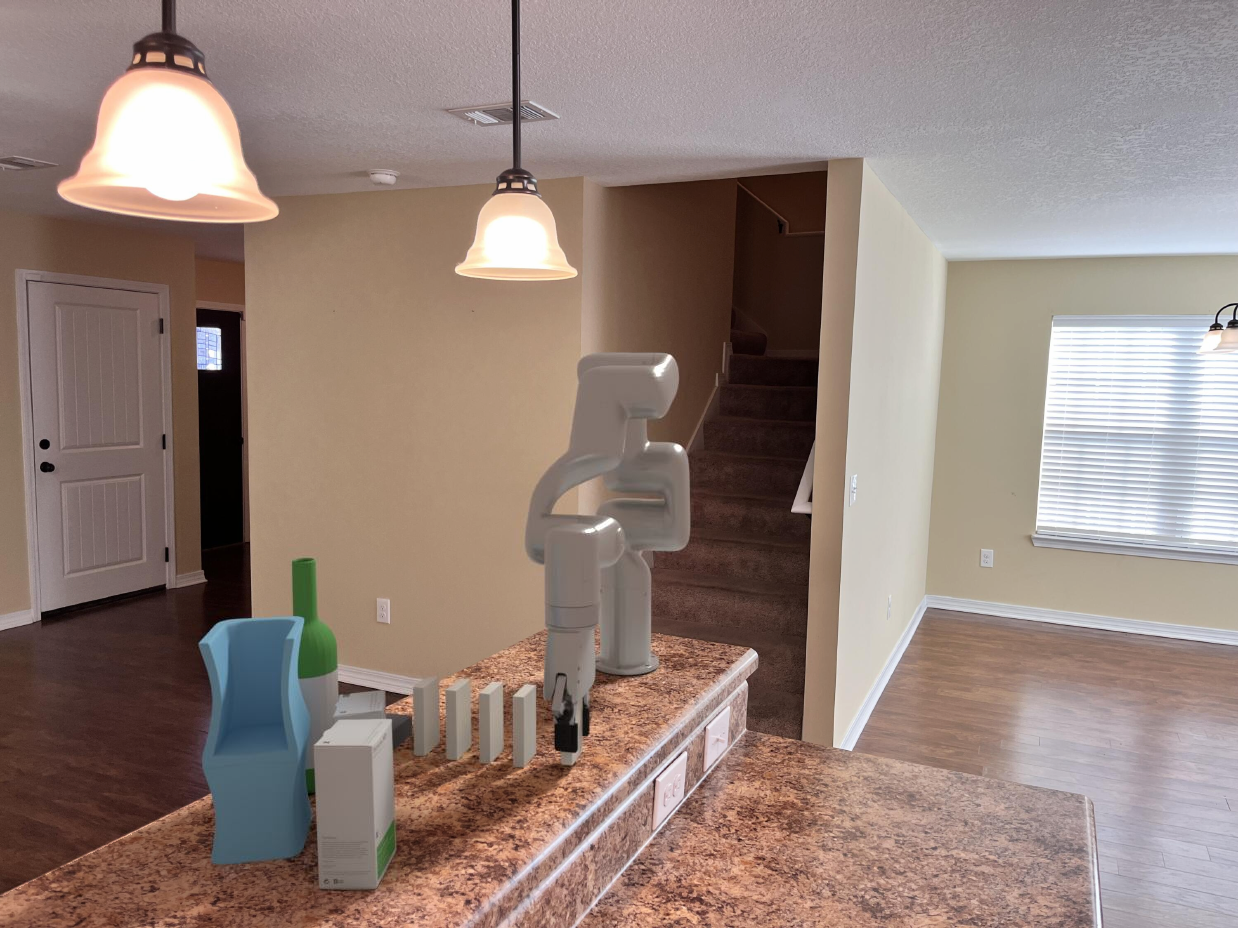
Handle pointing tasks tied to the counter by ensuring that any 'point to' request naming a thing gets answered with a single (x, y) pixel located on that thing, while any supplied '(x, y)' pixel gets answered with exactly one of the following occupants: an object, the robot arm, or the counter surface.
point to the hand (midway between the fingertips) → (572, 741)
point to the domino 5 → (571, 757)
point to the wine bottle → (314, 660)
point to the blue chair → (256, 740)
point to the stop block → (400, 728)
